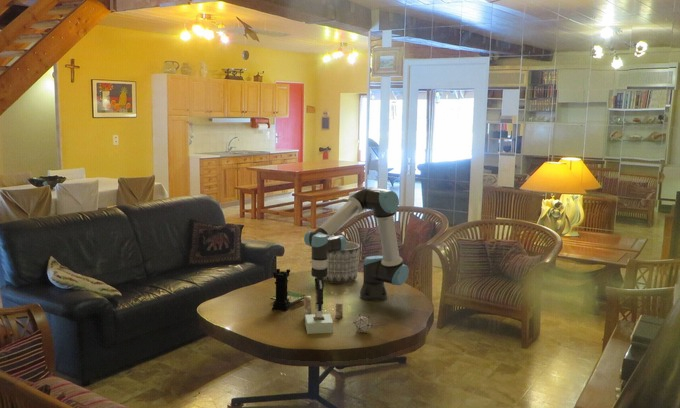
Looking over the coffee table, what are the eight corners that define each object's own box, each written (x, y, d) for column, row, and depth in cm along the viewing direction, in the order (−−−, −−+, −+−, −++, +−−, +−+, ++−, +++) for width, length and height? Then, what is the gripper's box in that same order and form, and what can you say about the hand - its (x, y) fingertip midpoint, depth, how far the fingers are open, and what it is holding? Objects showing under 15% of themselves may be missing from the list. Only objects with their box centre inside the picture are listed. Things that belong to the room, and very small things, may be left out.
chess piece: (286, 310, 306) (286, 273, 302) (271, 309, 307) (271, 272, 304) (291, 305, 313) (291, 269, 310) (276, 304, 315) (276, 268, 312)
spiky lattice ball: (358, 339, 279) (351, 319, 283) (375, 332, 279) (368, 312, 283) (357, 336, 271) (349, 315, 274) (374, 329, 271) (367, 309, 275)
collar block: (329, 323, 288) (329, 313, 287) (333, 332, 276) (333, 322, 276) (305, 324, 286) (305, 314, 286) (307, 333, 275) (307, 323, 274)
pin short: (341, 315, 300) (342, 302, 299) (343, 317, 296) (343, 304, 295) (335, 315, 299) (335, 302, 298) (336, 318, 296) (336, 304, 295)
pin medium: (310, 316, 297) (310, 295, 296) (311, 319, 294) (311, 297, 292) (303, 316, 297) (303, 295, 295) (304, 319, 293) (304, 298, 292)
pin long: (322, 321, 283) (322, 289, 280) (322, 324, 279) (323, 291, 277) (314, 321, 282) (314, 289, 280) (315, 324, 279) (315, 291, 276)
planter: (312, 284, 352) (313, 248, 349) (321, 273, 377) (321, 239, 374) (355, 287, 348) (356, 251, 344) (361, 275, 373) (362, 241, 370)
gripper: (309, 263, 284) (309, 309, 288) (313, 272, 268) (312, 321, 272) (325, 262, 285) (324, 309, 289) (329, 272, 269) (329, 321, 273)
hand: (318, 315), depth 280 cm, fingers closed on pin long, 3 cm apart
